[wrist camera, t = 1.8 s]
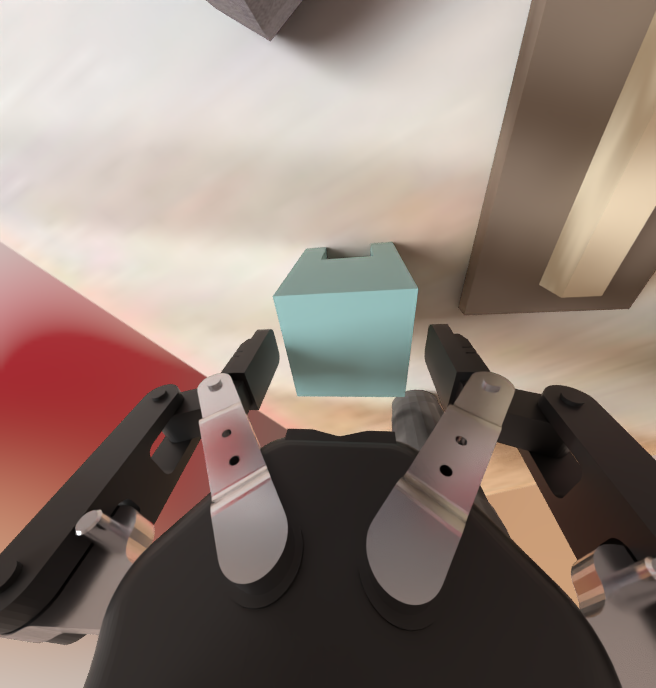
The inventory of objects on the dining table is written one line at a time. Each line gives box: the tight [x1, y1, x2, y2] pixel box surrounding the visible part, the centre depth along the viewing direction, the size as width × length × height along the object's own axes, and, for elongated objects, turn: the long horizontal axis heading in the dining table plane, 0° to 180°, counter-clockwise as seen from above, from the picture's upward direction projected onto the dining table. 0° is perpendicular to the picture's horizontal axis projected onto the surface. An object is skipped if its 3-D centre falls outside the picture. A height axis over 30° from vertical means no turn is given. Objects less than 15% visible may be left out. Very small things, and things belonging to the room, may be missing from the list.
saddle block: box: [273, 242, 418, 397], centre depth 14 cm, size 6×6×8 cm
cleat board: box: [458, 0, 656, 315], centre depth 10 cm, size 20×10×3 cm, turn 6°
